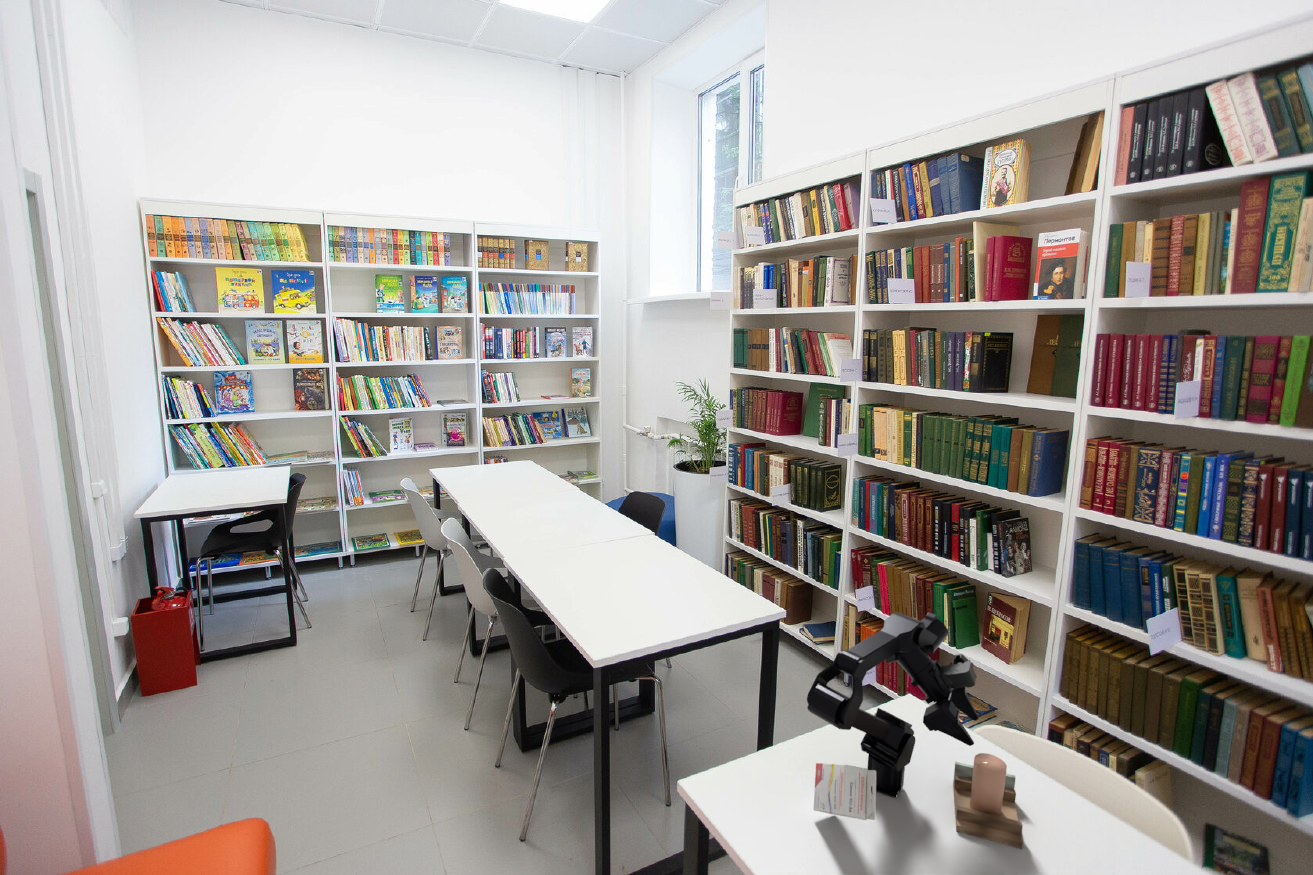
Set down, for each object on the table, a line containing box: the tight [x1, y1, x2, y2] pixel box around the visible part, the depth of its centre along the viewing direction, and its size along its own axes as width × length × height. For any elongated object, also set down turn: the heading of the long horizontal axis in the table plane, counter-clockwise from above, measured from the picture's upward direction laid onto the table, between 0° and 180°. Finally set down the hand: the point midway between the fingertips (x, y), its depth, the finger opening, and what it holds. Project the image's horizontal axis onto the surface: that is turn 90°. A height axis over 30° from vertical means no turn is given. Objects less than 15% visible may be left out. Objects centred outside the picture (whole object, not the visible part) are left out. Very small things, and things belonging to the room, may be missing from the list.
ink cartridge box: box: [813, 762, 877, 821], centre depth 122 cm, size 9×5×15 cm
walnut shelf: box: [952, 761, 1024, 850], centre depth 127 cm, size 11×14×5 cm
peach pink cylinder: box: [970, 752, 1007, 816], centre depth 127 cm, size 6×6×10 cm
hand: (974, 731), depth 131 cm, fingers open, 9 cm apart
